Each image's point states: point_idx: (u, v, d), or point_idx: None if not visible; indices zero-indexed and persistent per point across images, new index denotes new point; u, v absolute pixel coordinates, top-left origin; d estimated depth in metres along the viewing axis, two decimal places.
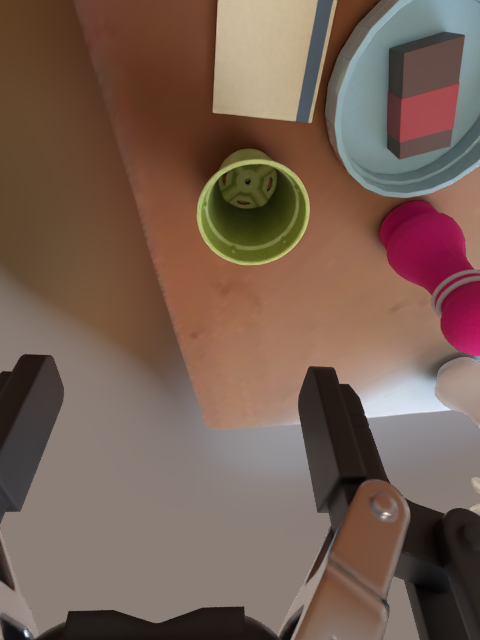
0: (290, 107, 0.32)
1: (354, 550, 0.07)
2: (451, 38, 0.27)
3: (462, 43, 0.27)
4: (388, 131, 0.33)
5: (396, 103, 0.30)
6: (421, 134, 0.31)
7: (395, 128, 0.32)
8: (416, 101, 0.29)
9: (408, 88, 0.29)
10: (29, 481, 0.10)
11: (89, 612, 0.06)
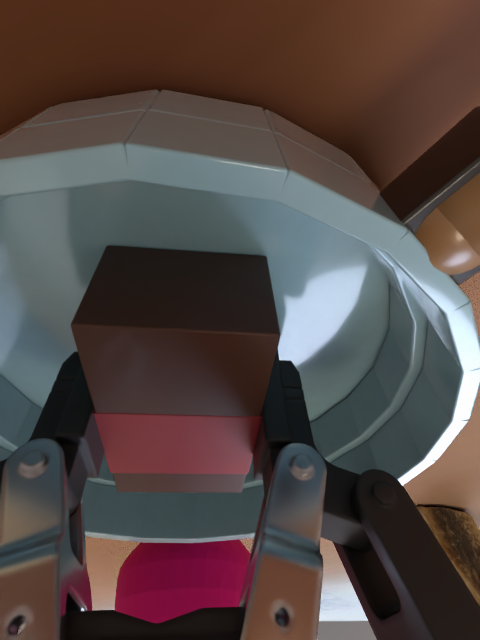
0: None
1: (267, 504, 0.08)
2: (238, 328, 0.08)
3: (271, 351, 0.08)
4: None
5: None
6: (166, 470, 0.12)
7: None
8: (140, 423, 0.10)
9: (110, 398, 0.09)
10: (103, 452, 0.11)
11: (89, 612, 0.06)
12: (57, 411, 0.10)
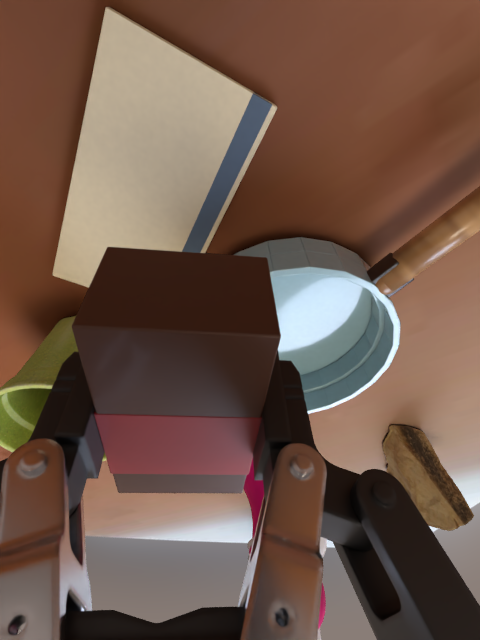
0: None
1: (267, 504, 0.08)
2: (239, 330, 0.08)
3: (271, 352, 0.08)
4: None
5: None
6: (167, 471, 0.12)
7: None
8: (141, 424, 0.10)
9: (111, 399, 0.09)
10: (103, 452, 0.11)
11: (89, 612, 0.06)
12: (57, 410, 0.10)
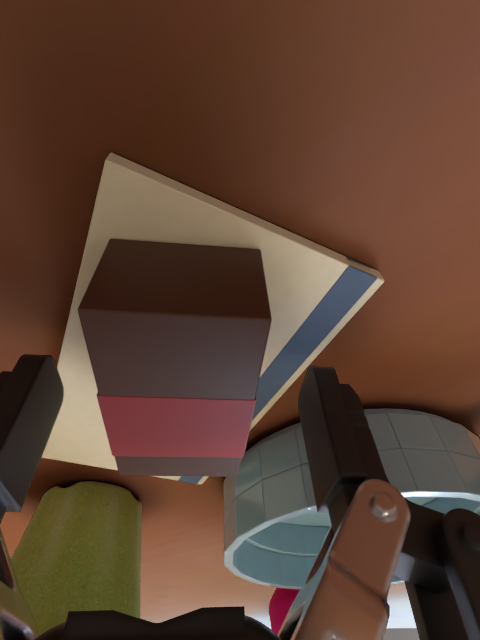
0: None
1: (354, 550, 0.07)
2: (233, 313, 0.08)
3: (263, 335, 0.09)
4: None
5: None
6: (166, 453, 0.12)
7: None
8: (141, 406, 0.10)
9: (113, 381, 0.10)
10: (29, 481, 0.10)
11: (89, 612, 0.06)
12: None
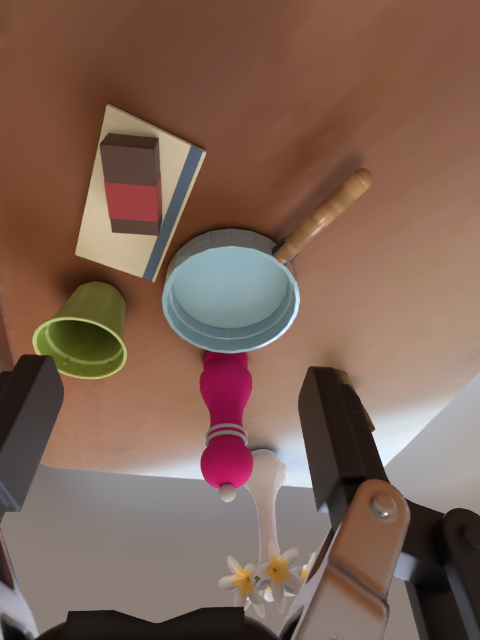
0: (139, 269, 0.41)
1: (354, 550, 0.07)
2: (142, 147, 0.30)
3: (152, 155, 0.30)
4: None
5: None
6: (128, 217, 0.34)
7: None
8: (118, 188, 0.32)
9: (109, 175, 0.31)
10: (29, 481, 0.10)
11: (89, 612, 0.06)
12: None
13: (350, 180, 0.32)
